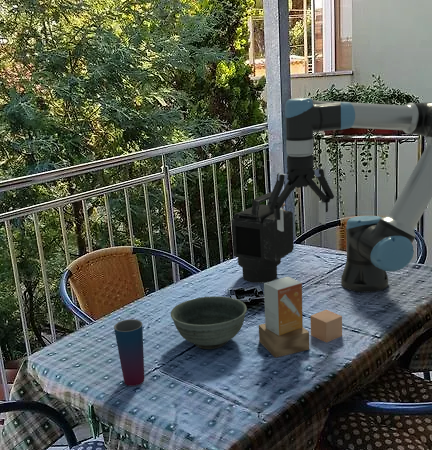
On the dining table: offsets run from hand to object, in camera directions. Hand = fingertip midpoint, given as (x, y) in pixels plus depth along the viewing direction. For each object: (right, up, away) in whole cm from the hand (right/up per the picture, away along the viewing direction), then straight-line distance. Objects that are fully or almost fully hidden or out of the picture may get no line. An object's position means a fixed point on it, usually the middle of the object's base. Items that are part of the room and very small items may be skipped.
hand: (301, 226), depth 171 cm
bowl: (-26, -32, -8) cm, 42 cm away
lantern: (-8, -18, +37) cm, 42 cm away
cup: (-45, -38, -25) cm, 64 cm away
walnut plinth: (-7, -32, -13) cm, 35 cm away
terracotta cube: (+6, -30, -9) cm, 32 cm away
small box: (-7, -27, -14) cm, 31 cm away
